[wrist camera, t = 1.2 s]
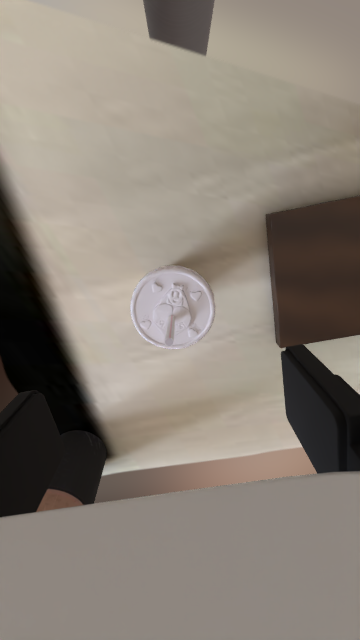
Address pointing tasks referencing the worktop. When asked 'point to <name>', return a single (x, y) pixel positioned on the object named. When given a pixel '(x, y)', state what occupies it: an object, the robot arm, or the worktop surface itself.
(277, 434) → the worktop surface
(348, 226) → the walnut board
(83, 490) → the travel mug
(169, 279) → the smoothie
